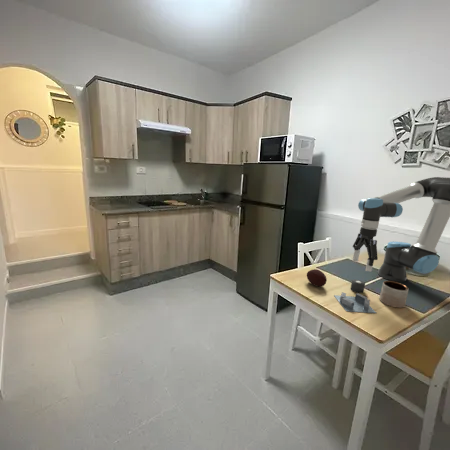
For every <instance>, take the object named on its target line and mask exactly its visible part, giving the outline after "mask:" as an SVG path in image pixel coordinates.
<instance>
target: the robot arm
mask: <svg viewBox="0 0 450 450" xmlns="http://www.w3.org/2000/svg"><path fill="white" fill-rule="evenodd" d="M420 198H431V201H432V202H433V205H432V207H431V209H430V212H429V214H428V216H427V218H426V220H425V223H424V225H423V227H422V229H421V232H420V234H419V236H418V238H417V240H416V242H415V243H412V244H411V243H408V242H403V241H389V242H387V246H386V248H385V254H384V257H383V262H382V264H381V265H380V267H379V268H378V269H377V270H378V271H377V275H378V276H380V277H381V278H383V279H386V280H387V281H394V282H398V283H403V282H406V281H407V272H406V271H407V270H406V268H408V269H411V270H412V271H415V272H416V273H417V272H418V273H420V274H429V273H432V272H433V271H435V269H436V268H437V267H438V265H439V264H440V263H439V262H440V261H439V260H440V259H439V257H438V256H437V253H438V251H437V250H436V248H437V246H438V244H439V241H440V239H441V237H442V234H443V232H444V230H445V228H446V227H447V224H448V222H449V219H450V177H445V176H443V177H441V176H435V177H429V178H424V179H420V180H418V181H415V182H412V183H410V184H409V185H408V186H406V187H405V186H404V187H403V188H400V189H399V188H398V189H395V190H393V191H390V192H387V193H384V194H381V195H378V196H375V197H367V198H362V199H360V200H359V201H358V205H357V206H358V210H360V211H361V212H363V213H362V214H363V215H362V218H361V219H362V221H361V225H360V226H361V227H360V229H359V233H358V234H357V237H356V239H355V241H354V243H353V245H352V248H353V250H354V251H353V255H352V262H359V257H360V253H361V249H362V247H363V246H365V248H366V250H367V255H368V258H367V261H366V265H365V270H364V271H365V272H372V271H373V265H374V262H375V261H379V260H378V248H377V244H378V240H377V239H374V237H376V236H377V234H378V233H377V232H378V228H379V222H380V219H381V218H397V217H400V216H401V215H402V214H403V210H404V209H403V206H402V204H400V203H403V202H406V201H410V200H412V199H420Z"/></svg>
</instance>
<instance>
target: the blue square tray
mask: <svg viewBox="0 0 450 450" xmlns="http://www.w3.org/2000/svg"><path fill="white" fill-rule="evenodd" d="M340 294H341V295H335V294H334V295H333V296H334V298H335V300H337V301H338V302H339V303H338V304H340V306H341V307H342V308H343V310H345V312H348V313H349V312H354V313H366V314H377V311H376V310H374V309H373V307H372V306H370V301H371V300H370V299H368V297H367V296H365V295H363V294H362V293H355V296H350V295H347V293H346V292H341V293H340Z"/></svg>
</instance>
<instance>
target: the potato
mask: <svg viewBox="0 0 450 450" xmlns="http://www.w3.org/2000/svg"><path fill="white" fill-rule="evenodd" d="M306 279H307V280H308V282H309V283H310V284H311V285H313V286H315V287H318V288H319V287H320V288H321V287H324V286H325V285H326V283H327V279H328V278H327V276H326V275H325V273H324V272H323V271H321V270H320V269H315V268H314V269H311V270H309V271H307V273H306Z"/></svg>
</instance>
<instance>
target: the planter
mask: <svg viewBox="0 0 450 450" xmlns="http://www.w3.org/2000/svg"><path fill="white" fill-rule="evenodd" d="M409 289H410V288H409V287H408V286H407V285H405V284H403V283H402V282H397V281H392V280H385V281H382V285H381V289H380V293H379V300H380V301H381V302H382V303H383V304H385V305H386V306H389V307H392V308H395V309H396V308H397V309H401V308H404V307H406V302H407V298H408V295H409Z"/></svg>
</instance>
